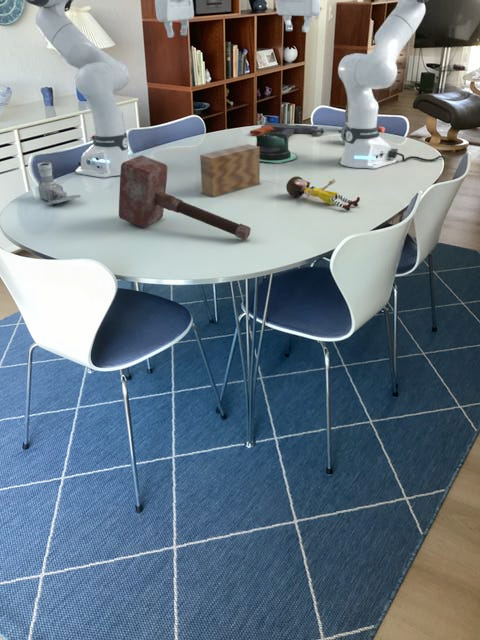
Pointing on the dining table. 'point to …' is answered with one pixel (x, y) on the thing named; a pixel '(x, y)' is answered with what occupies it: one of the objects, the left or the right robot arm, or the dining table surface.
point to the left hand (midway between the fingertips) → (177, 36)
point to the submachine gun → (286, 129)
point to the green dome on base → (274, 147)
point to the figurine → (317, 192)
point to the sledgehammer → (160, 198)
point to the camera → (51, 186)
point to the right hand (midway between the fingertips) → (297, 31)
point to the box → (230, 169)
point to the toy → (343, 132)
